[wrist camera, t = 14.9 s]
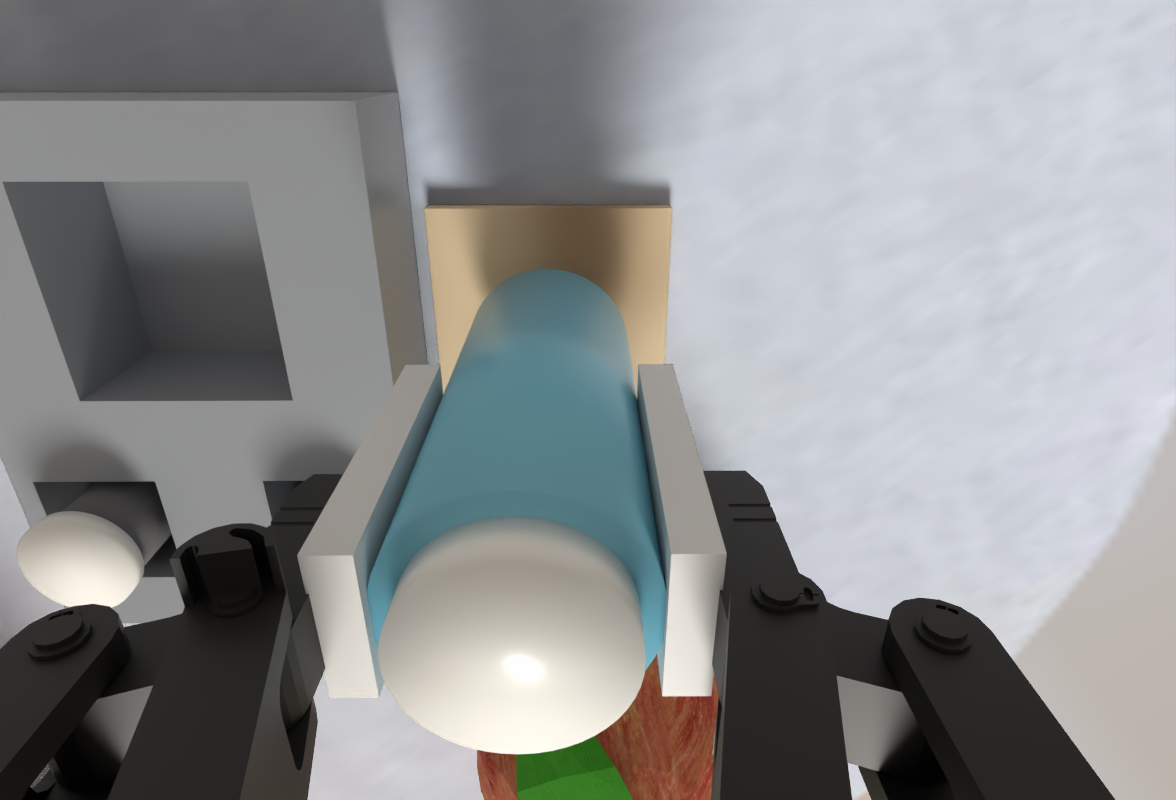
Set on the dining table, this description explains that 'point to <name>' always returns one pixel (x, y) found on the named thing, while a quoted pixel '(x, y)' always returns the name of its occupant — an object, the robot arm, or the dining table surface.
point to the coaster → (550, 264)
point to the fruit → (619, 755)
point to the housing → (198, 299)
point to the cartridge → (525, 532)
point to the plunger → (95, 544)
